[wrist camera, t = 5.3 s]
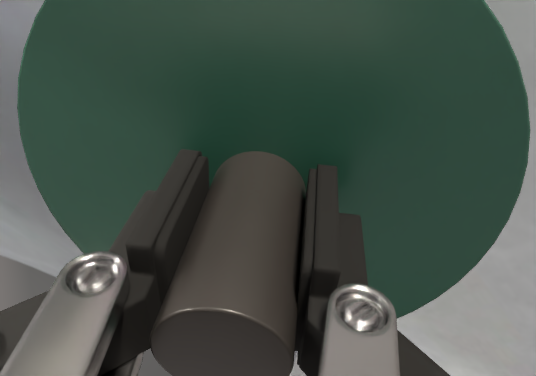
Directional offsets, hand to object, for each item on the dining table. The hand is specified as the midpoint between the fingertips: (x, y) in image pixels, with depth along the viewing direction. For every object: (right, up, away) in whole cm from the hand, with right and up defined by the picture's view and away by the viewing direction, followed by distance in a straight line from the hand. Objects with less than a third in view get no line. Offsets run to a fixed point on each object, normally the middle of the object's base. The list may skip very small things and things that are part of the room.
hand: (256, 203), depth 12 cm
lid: (0, +1, +1) cm, 1 cm away
